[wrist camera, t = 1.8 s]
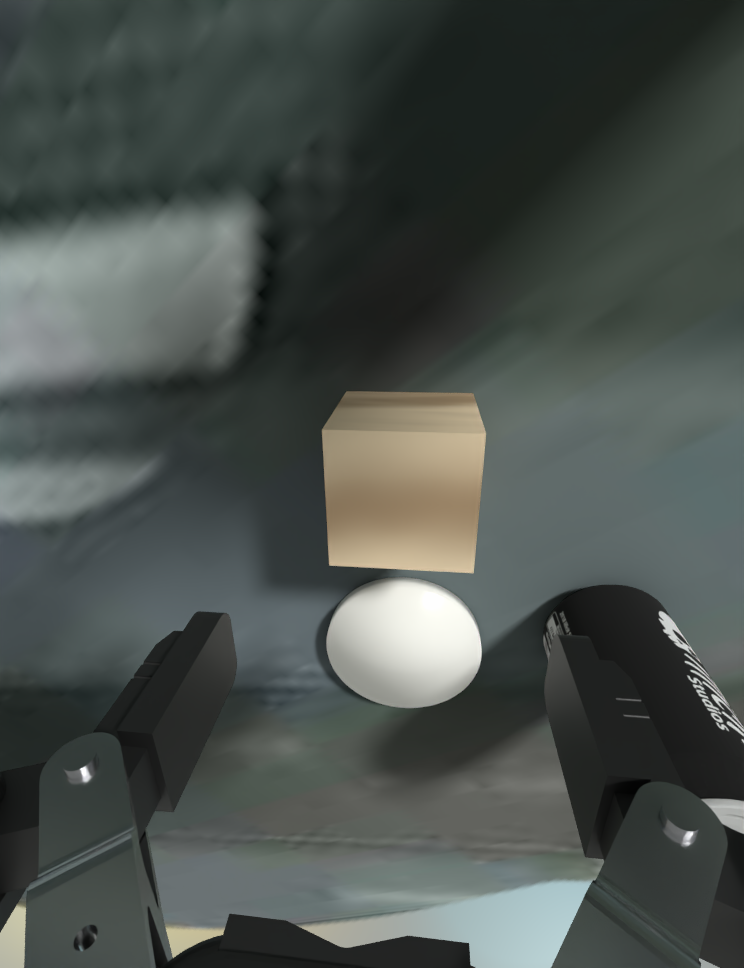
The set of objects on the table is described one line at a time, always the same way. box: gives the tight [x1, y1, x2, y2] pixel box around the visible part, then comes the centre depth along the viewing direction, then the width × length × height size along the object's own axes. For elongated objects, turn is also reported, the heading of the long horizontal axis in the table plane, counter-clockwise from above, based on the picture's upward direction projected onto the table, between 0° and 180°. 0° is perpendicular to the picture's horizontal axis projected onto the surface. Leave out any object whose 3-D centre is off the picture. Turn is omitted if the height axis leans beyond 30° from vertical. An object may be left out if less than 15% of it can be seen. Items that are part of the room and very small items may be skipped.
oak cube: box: [322, 391, 486, 573], centre depth 22 cm, size 6×6×6 cm
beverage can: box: [543, 585, 744, 834], centre depth 22 cm, size 7×7×12 cm
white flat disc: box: [326, 577, 482, 708], centre depth 29 cm, size 9×9×1 cm
